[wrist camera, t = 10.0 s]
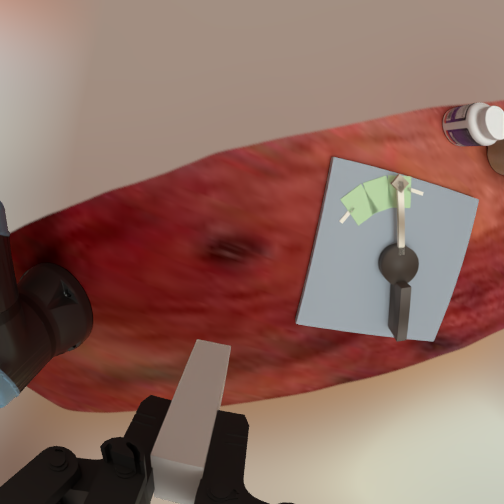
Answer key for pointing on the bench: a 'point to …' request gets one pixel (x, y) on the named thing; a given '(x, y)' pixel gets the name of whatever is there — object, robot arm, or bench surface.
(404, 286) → the dark long piece
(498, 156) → the flower pot
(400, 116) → the bench surface
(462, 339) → the bench surface
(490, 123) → the pill bottle
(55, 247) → the bench surface
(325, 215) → the tuner board
